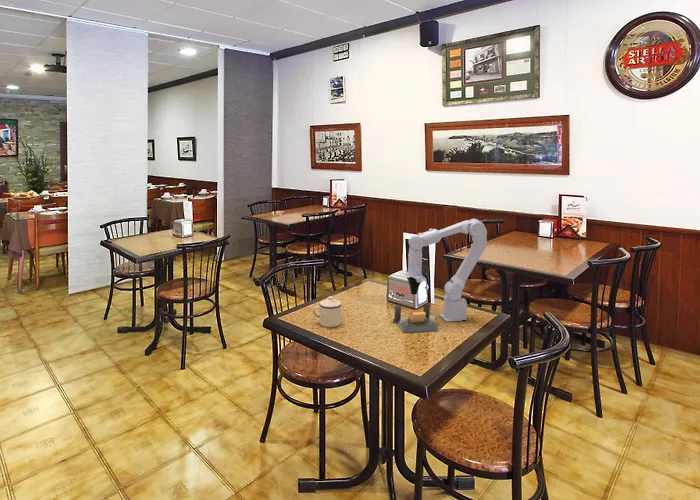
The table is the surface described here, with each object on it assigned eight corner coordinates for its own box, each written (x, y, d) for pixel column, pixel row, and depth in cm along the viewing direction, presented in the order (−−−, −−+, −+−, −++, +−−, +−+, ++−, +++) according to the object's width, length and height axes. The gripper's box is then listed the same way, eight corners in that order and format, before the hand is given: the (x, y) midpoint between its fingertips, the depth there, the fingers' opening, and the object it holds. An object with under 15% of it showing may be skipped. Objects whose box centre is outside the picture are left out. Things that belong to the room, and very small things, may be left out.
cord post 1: (400, 319, 191) (401, 304, 189) (403, 323, 187) (403, 307, 185) (391, 320, 190) (392, 304, 189) (393, 323, 186) (394, 307, 185)
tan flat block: (423, 320, 182) (425, 311, 179) (424, 322, 181) (426, 314, 178) (410, 320, 181) (412, 312, 178) (411, 323, 180) (413, 314, 177)
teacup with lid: (342, 320, 190) (342, 294, 187) (339, 328, 181) (339, 301, 179) (315, 318, 191) (314, 293, 189) (310, 326, 183) (310, 299, 180)
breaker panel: (430, 323, 187) (431, 312, 186) (437, 331, 179) (437, 319, 178) (398, 325, 185) (398, 314, 184) (403, 332, 177) (403, 321, 176)
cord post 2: (429, 318, 193) (429, 303, 191) (432, 321, 189) (432, 306, 187) (420, 318, 192) (420, 303, 191) (423, 322, 188) (423, 306, 187)
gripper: (401, 259, 196) (400, 289, 199) (410, 267, 182) (409, 299, 185) (417, 259, 197) (415, 288, 200) (427, 267, 183) (425, 298, 186)
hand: (413, 293), depth 192 cm, fingers closed
